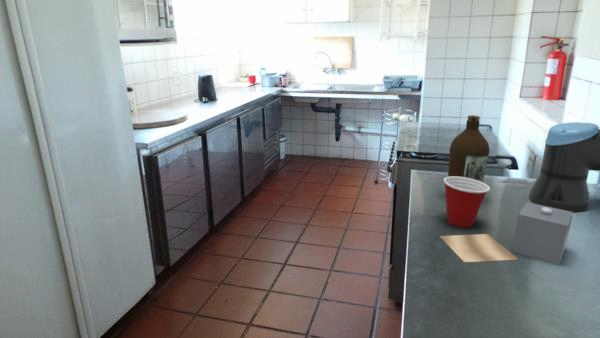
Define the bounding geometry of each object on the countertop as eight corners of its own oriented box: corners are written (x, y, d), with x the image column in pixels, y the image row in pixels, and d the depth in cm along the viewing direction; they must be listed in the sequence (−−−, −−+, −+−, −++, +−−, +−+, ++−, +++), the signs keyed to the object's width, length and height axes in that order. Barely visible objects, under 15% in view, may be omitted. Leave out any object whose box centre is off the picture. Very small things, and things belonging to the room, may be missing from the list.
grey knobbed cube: (519, 241, 97) (527, 198, 94) (564, 253, 92) (574, 207, 89) (510, 256, 90) (519, 209, 87) (558, 269, 85) (568, 221, 82)
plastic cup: (487, 238, 99) (495, 191, 95) (440, 233, 101) (446, 187, 97) (478, 219, 109) (485, 176, 105) (436, 216, 111) (441, 173, 107)
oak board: (486, 238, 98) (487, 234, 98) (517, 264, 87) (518, 259, 87) (438, 240, 97) (439, 236, 97) (463, 267, 86) (464, 262, 85)
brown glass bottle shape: (437, 193, 127) (446, 113, 120) (467, 191, 130) (478, 112, 122) (457, 206, 117) (468, 120, 110) (489, 203, 120) (503, 118, 112)
